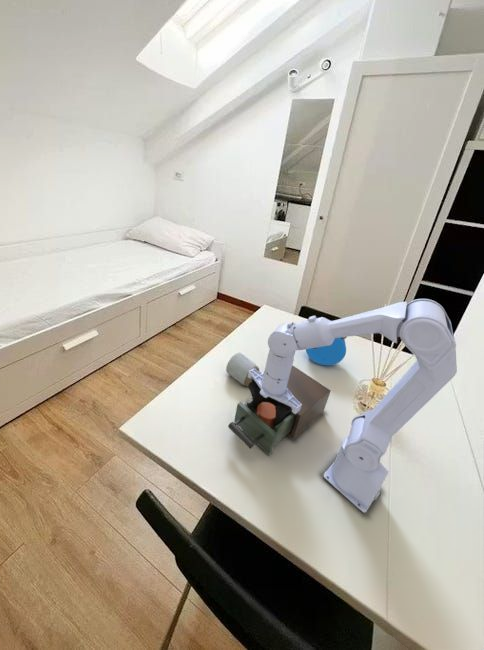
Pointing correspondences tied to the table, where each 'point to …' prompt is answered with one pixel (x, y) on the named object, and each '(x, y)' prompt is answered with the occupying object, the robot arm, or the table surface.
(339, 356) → the alarm clock
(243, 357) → the ceramic mug
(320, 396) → the cabinet
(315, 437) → the table surface
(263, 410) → the orange cylinder canister
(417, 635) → the table surface
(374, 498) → the robot arm
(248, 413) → the drawer
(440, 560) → the table surface
